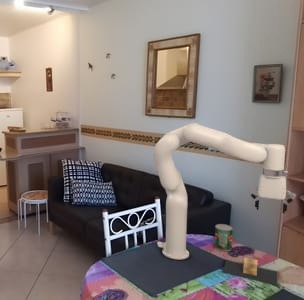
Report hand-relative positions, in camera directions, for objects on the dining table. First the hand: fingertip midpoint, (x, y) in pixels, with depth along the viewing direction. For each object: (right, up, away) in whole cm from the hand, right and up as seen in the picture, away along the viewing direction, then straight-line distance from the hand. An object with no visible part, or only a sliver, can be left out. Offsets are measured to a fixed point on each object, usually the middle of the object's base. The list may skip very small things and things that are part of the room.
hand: (270, 210), depth 140 cm
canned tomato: (-9, -24, +23) cm, 34 cm away
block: (-9, -27, 0) cm, 28 cm away
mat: (-9, -27, 0) cm, 28 cm away
